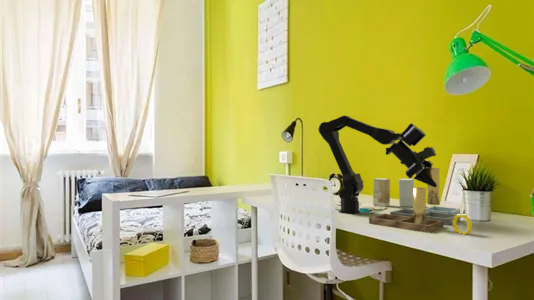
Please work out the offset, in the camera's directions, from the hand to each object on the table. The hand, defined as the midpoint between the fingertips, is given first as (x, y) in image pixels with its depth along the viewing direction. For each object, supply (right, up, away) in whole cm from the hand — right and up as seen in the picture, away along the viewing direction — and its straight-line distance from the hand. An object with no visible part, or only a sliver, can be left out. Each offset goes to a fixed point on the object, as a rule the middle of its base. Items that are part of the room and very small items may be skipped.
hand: (437, 186), depth 135 cm
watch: (-1, -13, -20) cm, 23 cm away
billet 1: (-11, -13, -11) cm, 20 cm away
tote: (+7, -12, +12) cm, 19 cm away
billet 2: (-1, -7, +1) cm, 7 cm away
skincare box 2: (+1, -12, +33) cm, 35 cm away
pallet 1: (-14, -13, -7) cm, 20 cm away
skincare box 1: (-9, -12, +35) cm, 38 cm away
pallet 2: (-3, -12, +3) cm, 13 cm away
